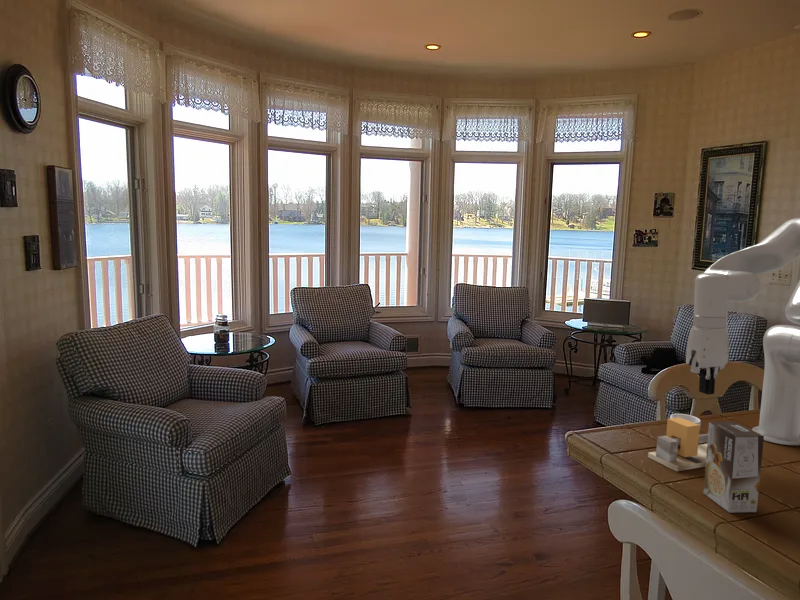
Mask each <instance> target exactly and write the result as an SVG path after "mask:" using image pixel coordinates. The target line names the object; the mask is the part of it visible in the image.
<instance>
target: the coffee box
mask: <svg viewBox="0 0 800 600" xmlns="http://www.w3.org/2000/svg"><path fill="white" fill-rule="evenodd" d="M707 430H708V431H707V434H708V442H706V444H707V454H706V467H704V469H705V470H704V481H703V495H705V496H706V497H707V498H709V499H711V500H712V501H713V502H715V503H716V504H717V505H718V506H719V507H721V508H722V509H724V510H725V511H726V512H728V513H757V510H758V500H759V491H760V481H761V469H762V459H763V451H764V450H763V449H764V441H765V440H764V436H763V435H761V434H759V433H757V432H755V431H753V430H752V428H748V427H746V426H744V425H742V424H741V423H738V422H737V421H713V422H712V421H709V422H708V429H707Z"/></svg>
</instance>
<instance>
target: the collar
mask: <svg viewBox="0 0 800 600" xmlns="http://www.w3.org/2000/svg"><path fill="white" fill-rule="evenodd" d="M666 422H667V423H666V432H665V436H667V437H669V438H671V439H674V438H680V439H681V442H680V446H678V448H677V454H679V455H681V456H683V457H690V456H696V455H697V453H698V445H699V443H698V441H699V435H700V431H701V425H698V424H696V423H693V422H691V421H688V420H685V419H683V418H680V417H679V418H671V419H670V418H667V421H666Z"/></svg>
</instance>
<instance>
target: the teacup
mask: <svg viewBox="0 0 800 600" xmlns="http://www.w3.org/2000/svg"><path fill="white" fill-rule="evenodd" d="M679 417H680V418H683V419H685V420H688V421H691V422H693V423H696V424H698V425H700V426H701V424H702V422H701V418H698V417H697V416H694V415H691V414H686V413H672V414H670V415H669V419H671V418H679Z"/></svg>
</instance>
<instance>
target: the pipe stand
mask: <svg viewBox="0 0 800 600" xmlns="http://www.w3.org/2000/svg"><path fill="white" fill-rule="evenodd" d="M656 439H657V440H656V450H654V451H651V452H650V451H649V452H647V458H649V459H651V460H652V461H655V462H657V463H659V464H661V465H663V466H665V467H667V468H669V469H671V470H673V471H675V472H681V471H682V472H683V471H686V470H688V471H689V470H693V469H699V468H705V467H706V454H707V443H708V433H702V434H699V441H698V453H697V455H696V456H690V457H683V456H681V455H679V454H677V448H678V446H680V442H681V439H680V438H674V439H671V438H669V437H667V436H666V435H659V436H657V437H656ZM703 443H704V444H703Z"/></svg>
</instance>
